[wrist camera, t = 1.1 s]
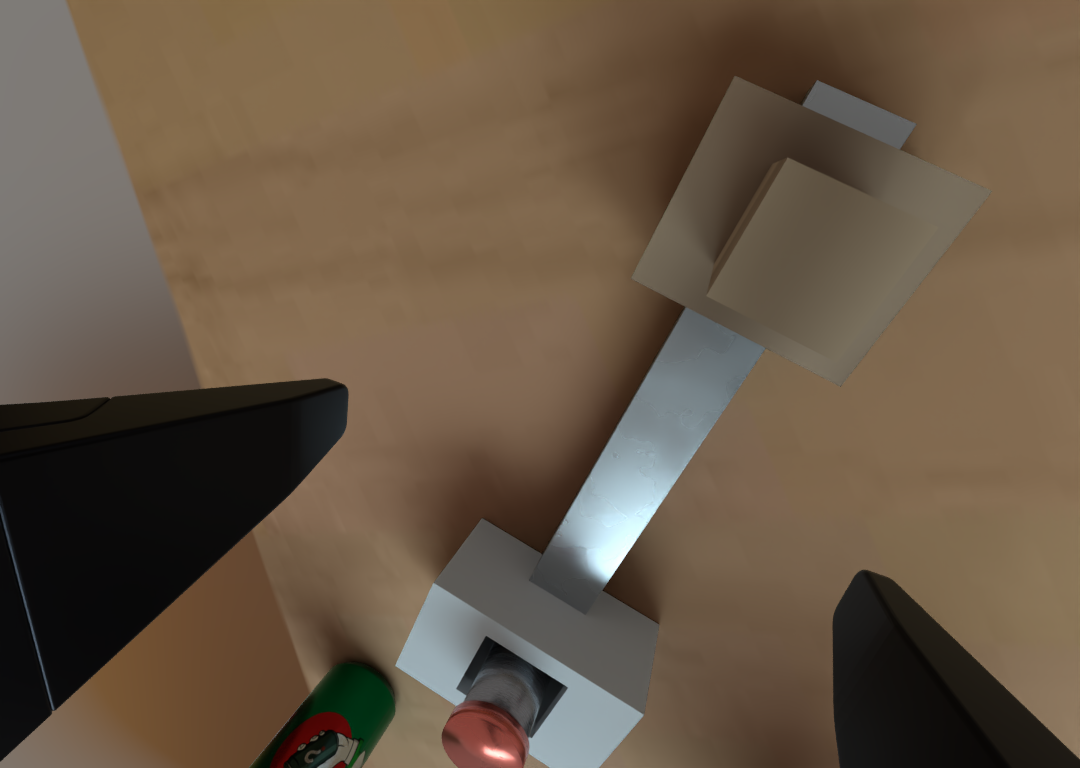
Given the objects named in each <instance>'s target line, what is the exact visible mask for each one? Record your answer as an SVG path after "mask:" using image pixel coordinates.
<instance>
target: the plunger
mask: <svg viewBox="0 0 1080 768" xmlns="http://www.w3.org/2000/svg"><path fill="white" fill-rule="evenodd" d="M550 679H551V676H549V675H548V674H546V673H544V672H543V671H541V670H540V669H538V668H536V667H535V666H533V665H532V664H530V663H529V662H527V661H525V660H524V659H522V658H521V657H519V656H518V655H516V654H514V653H513V652H511V651H510V650H508V649H506V648H505V647H503V646H502V645H500V644H499V643H497V642H494V644H493V646H492V648H491V650H490V651H489V653H488V655H487V657H486V659H485V661H484V663H483V665H482V667H481V669H480V671H479V673H478V675H477V676H476V678H475V680H474V682H473V684H472V686H471V688H470V690H469V692H468V694H467V696H466V698H465V700H464V701H463V702H462V703H460V704H459V705H457V706H456V707H455V708H454V710H453V712H452V714H451V715H450V717H449V719H448V721H447V723H446V725H445V727H444V729H443V732H442V743H443V746H444V749H445V751H446V753H447V755H448V756H449V758H450V759H451V760H452V761H453V763H454V764H455V765H456V766H457V767H458V768H523V767H524V764H525V761H526V759H527V756H528V753H529V740H528V738H529V736H530V733H531V730H532V727H533V725H534V722H535V719H536V717H537V714H538V711H539V708H540V706H541V703H542V700H543V698H544V695H545V692H546V690H547V687H548V684H549V681H550Z"/></svg>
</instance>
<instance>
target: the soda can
mask: <svg viewBox="0 0 1080 768" xmlns="http://www.w3.org/2000/svg"><path fill="white" fill-rule="evenodd" d="M394 715H395V699H394V693H393V691H392V688H391V686H390V685H389V683H388V682H387V680H386V679H385V678H384V677H383V676H382V675H381V674H380V673H379V672H377V671H376V670H375V669H373V668H372V667H370V666H368V665H366V664H363V663H359V662H345V663H341V664H337V665H335V666H333V667H332V668H331V669H330V670H329V672H328V673H327V674H326V675H325V676H324V678H323V679H322V680H321V681H320V682H319V684H318V685H317V686H316V687H315V688H314V690H313V691H312V692H311V693H310V694H309V696H308V697H307V698H306V699H305V701H304V702H303V703H302V704H301V705H300V707H299V708H298V709H297V710H296V711H295V713H294V714H293V715H292V716H291V718H290V719H289V720H288V721H287V722H286V724H285V725H284V726H283V727H282V728H281V730H280V731H279V732H278V734H276V736H275V737H274V738H273V739H272V741H271V742H270V743H269V744H268V745H267V747H266V748H265V749H264V750H263V751H262V753H261V754H260V755H259V756H258V757H257V759H256V760H255V761H254V762H253V764H252V765H251V766H250V767H249V768H362V767H363V765H364V764H365V762H366V760H367V759H368V757H369V756H370V754H371V753H372V751H373V749H374V748H375V746H376V745H377V743H378V742H379V740H380V738H381V737H382V735H383V734H384V732H385V731H386V729H387V727H388V726H389V724H390V723H391V721H392V720H393V718H394Z"/></svg>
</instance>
